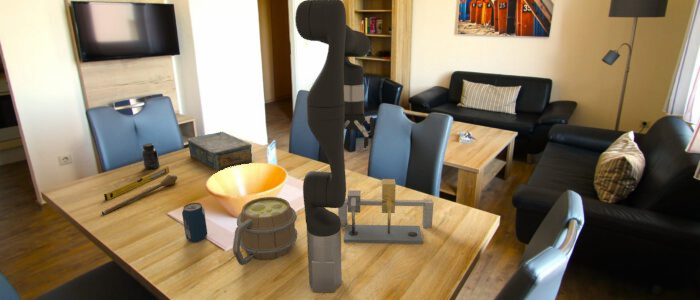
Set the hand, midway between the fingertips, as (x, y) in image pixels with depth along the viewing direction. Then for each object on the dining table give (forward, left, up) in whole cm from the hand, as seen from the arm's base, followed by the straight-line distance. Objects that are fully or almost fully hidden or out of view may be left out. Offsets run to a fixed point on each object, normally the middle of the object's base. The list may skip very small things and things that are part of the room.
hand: (352, 147), depth 135 cm
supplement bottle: (+56, +101, -30) cm, 120 cm away
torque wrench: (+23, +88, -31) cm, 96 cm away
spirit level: (+35, +96, -31) cm, 107 cm away
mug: (-16, +28, -31) cm, 44 cm away
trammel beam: (-1, -12, -30) cm, 32 cm away
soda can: (-9, +52, -30) cm, 61 cm away
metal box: (+71, +72, -31) cm, 105 cm away
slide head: (-1, -13, -29) cm, 31 cm away
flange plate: (-5, -11, -30) cm, 32 cm away
